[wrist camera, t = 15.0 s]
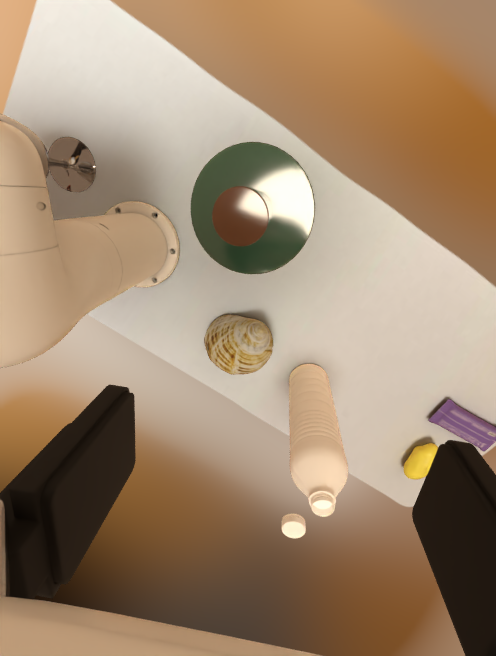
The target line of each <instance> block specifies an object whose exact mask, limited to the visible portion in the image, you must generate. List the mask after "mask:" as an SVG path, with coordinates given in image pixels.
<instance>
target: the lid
mask: <svg viewBox="0 0 496 656" xmlns="http://www.w3.org/2000/svg"><path fill="white" fill-rule="evenodd" d="M314 214H315V202H314V194H313V190H312V187H311V184H310V182H309V179H308V177H307V175H306V173H305V172H304V170H303V169H302V167H301V166H300V165H299V163H298V162H297V161H296V160H295V159H294V158H293V157H292V156H290V155H289V154H288V153H286V152H285V151H283V150H281V149H279V148H278V147H275V146H272V145H270V144H266V143H260V142H246V143H240V144H236V145H233V146H231V147H228V148H226V149H224V150H223V151H221V152H219V153H218V154H217V155H215V156H214V157H213V158H212V159H211V160H210V161H209V162H208V163H207V164H206V165H205V167H204V168H203V170H202V171H201V173H200V174H199V176H198V178H197V180H196V183H195V186H194V189H193V193H192V198H191V218H192V224H193V227H194V231H195V233H196V236H197V238H198V240H199V242H200V244H201V245H202V247H203V248H204V250H205V251H206V252H207V253H208V254H209V255H210V257H211V258H213V259H214V260H215V261H216V262H217V263H219V264H220V265H222V266H224V267H226V268H228V269H230V270H232V271H235V272H239V273H244V274H262V273H267V272H270V271H273V270H276V269H278V268H280V267H282V266H283V265H285V264H287V263H288V262H289V261H290V260H292V259H293V258H294V257H295V256H296V255H297V254H298V253H299V252H300V250H301V249H302V247H303V246H304V245H305V243H306V241H307V239H308V237H309V235H310V232H311V229H312V226H313V222H314Z"/></svg>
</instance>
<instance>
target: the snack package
mask: <svg viewBox="0 0 496 656" xmlns="http://www.w3.org/2000/svg"><path fill="white" fill-rule="evenodd" d="M429 421H430V422H432V423H435V424H438V425H439V426H441V427H443V428H445V429H446V430H448V431H450V432H452V433H454V434H456V435H457V436H459V437H461V438H463V439H465V440H466V441H468V442H470V443H472V444H474V445H475V446H477V447H479V448H480V449H481V450H482V451H485V450H487V449H488V448H489V447H490V446H491V445H492V444H493V443H495V442H496V427H495V426H493V425H491V424H489V423H487V422H485V421H484V420H482V419H480V418H478V417H476V416H475V415H473V414H471V413H469V412H468V411H466V410H464V409H462V408H461V407H459V406H457V405H456V404H455V403H454V402H453V401H452V400H450V399H448V400H447V402H445V403H444V404H443V405H442V407H441V408H440V409H439V410H438V411H437V412H436V413H435V414H434V415H433V416H432V417H431V418H430V419H429Z"/></svg>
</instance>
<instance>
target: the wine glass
mask: <svg viewBox="0 0 496 656" xmlns="http://www.w3.org/2000/svg"><path fill="white" fill-rule="evenodd" d="M0 121H2V122H5V123H7V124H9V125H12V126H14V127H15V128H17V129H18V130H20V131H21V132H23V133H24V134H25V135H26V136H27V137H28V138H29V139H30V140H31V141H32V143H33V144H34V146H35V148H36V149H37V152H38V154H39V156H40V159H41V162H42V166H43V170H44V174H45V179H46V178H47V176H48V173H49V170H50V172H51V175H52V176H53V178H54V180H55V181H56V182H57V183H58V184H59V185H60V186H61V187H63V188H64V189H66V190H68V191H71V192H82V191H84V190H86V189H88V188H89V187H90V186H91V184H92V183H93V181H94V178H95V172H96V167H95V161H94V158H93V156H92V154H91V152H90V151H89V149H88V148H87V147H86V146H85V145H84V144H83V143H82V142H81V141H79V140H77V139H75V138H72V137H63V138H60V139H58V140H56V141H55V142H54V143H53V144H52V146H51V147H50V150H49V153H47V150H46V148H45V146H44V144H43V142H42V141H41V140H40V138H39V137H38V136H37V135H36V134H35V133H34V132H33V131H31V130H30V129H29V128H27V127H26V126H24V125H23V124H21V123H19V122H18V121H16V120H14V119H12V118H10V117H8V116H6V115H3V114H0Z"/></svg>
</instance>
